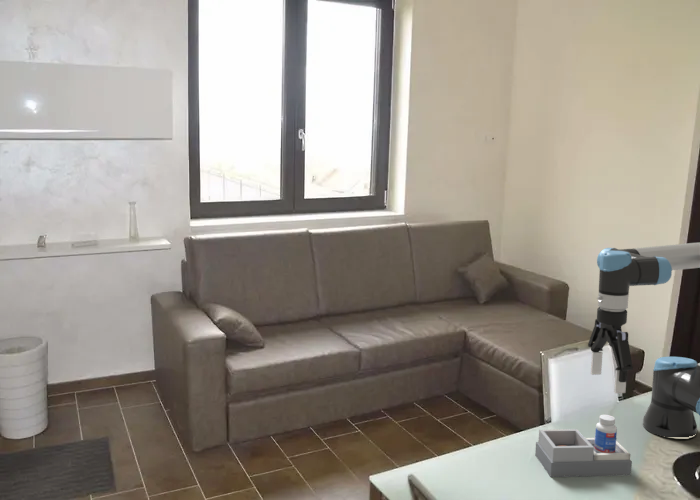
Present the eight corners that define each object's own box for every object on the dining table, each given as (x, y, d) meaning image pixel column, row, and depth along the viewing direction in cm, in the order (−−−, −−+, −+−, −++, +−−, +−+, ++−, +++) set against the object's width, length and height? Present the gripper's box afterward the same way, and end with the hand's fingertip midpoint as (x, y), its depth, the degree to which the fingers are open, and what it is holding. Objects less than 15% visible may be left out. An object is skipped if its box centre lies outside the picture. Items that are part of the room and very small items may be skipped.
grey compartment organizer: (610, 453, 183) (612, 427, 181) (630, 475, 171) (633, 447, 169) (535, 455, 181) (536, 428, 180) (550, 476, 170) (552, 448, 168)
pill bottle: (606, 457, 172) (608, 423, 171) (590, 449, 177) (592, 416, 175) (619, 452, 175) (622, 418, 173) (603, 444, 179) (605, 411, 178)
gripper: (578, 297, 183) (574, 367, 187) (622, 321, 159) (616, 401, 162) (603, 296, 184) (599, 366, 187) (651, 320, 159) (644, 400, 163)
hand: (607, 383), depth 175 cm, fingers open, 13 cm apart
